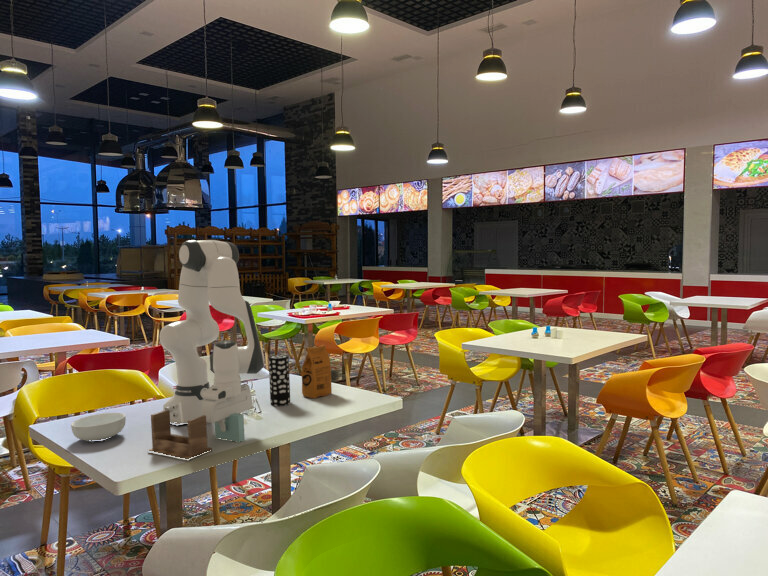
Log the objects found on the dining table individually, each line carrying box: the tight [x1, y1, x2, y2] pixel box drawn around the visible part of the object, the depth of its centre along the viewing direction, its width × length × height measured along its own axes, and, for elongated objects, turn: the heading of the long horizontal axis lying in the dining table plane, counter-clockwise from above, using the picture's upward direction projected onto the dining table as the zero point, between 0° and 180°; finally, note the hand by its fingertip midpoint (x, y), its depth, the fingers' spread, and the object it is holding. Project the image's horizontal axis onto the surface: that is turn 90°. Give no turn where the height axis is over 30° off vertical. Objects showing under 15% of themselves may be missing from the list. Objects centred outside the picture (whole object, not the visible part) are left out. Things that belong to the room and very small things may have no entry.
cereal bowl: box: [70, 412, 127, 442], centre depth 193 cm, size 17×17×7 cm
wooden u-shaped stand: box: [148, 410, 213, 459], centre depth 176 cm, size 18×10×12 cm, turn 61°
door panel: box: [214, 413, 246, 443], centre depth 188 cm, size 11×2×9 cm, turn 61°
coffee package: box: [301, 344, 333, 399], centre depth 245 cm, size 10×12×22 cm
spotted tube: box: [268, 354, 291, 407], centre depth 233 cm, size 8×8×20 cm
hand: (229, 428), depth 188 cm, fingers open, 3 cm apart
